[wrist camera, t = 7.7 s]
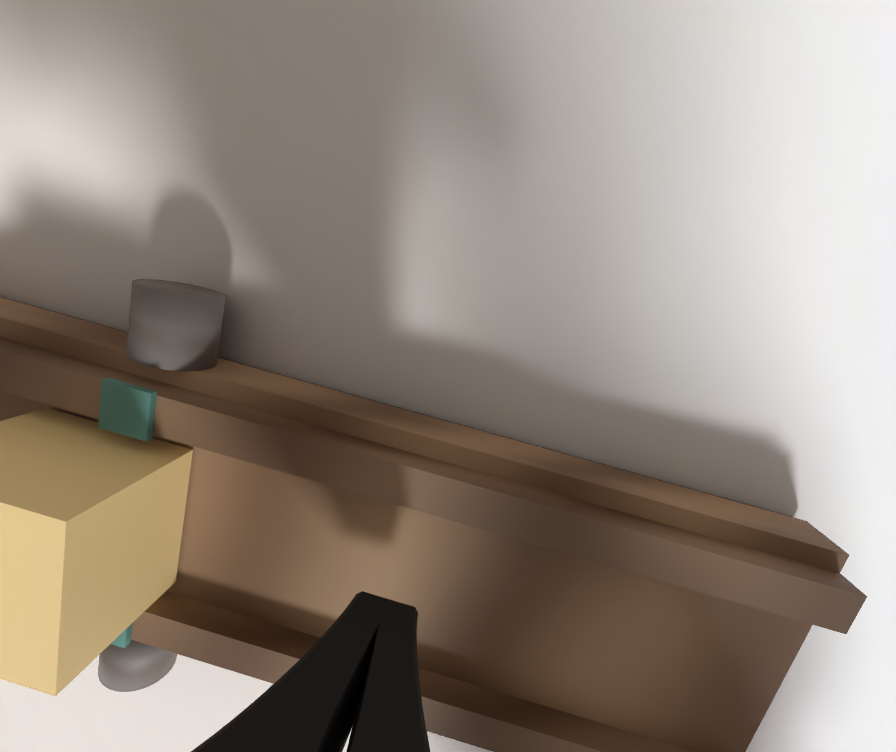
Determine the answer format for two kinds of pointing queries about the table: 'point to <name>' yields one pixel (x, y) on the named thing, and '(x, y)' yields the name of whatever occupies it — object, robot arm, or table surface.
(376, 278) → the table surface
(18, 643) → the block
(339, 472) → the balance beam
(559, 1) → the table surface
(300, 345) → the table surface
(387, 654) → the robot arm
